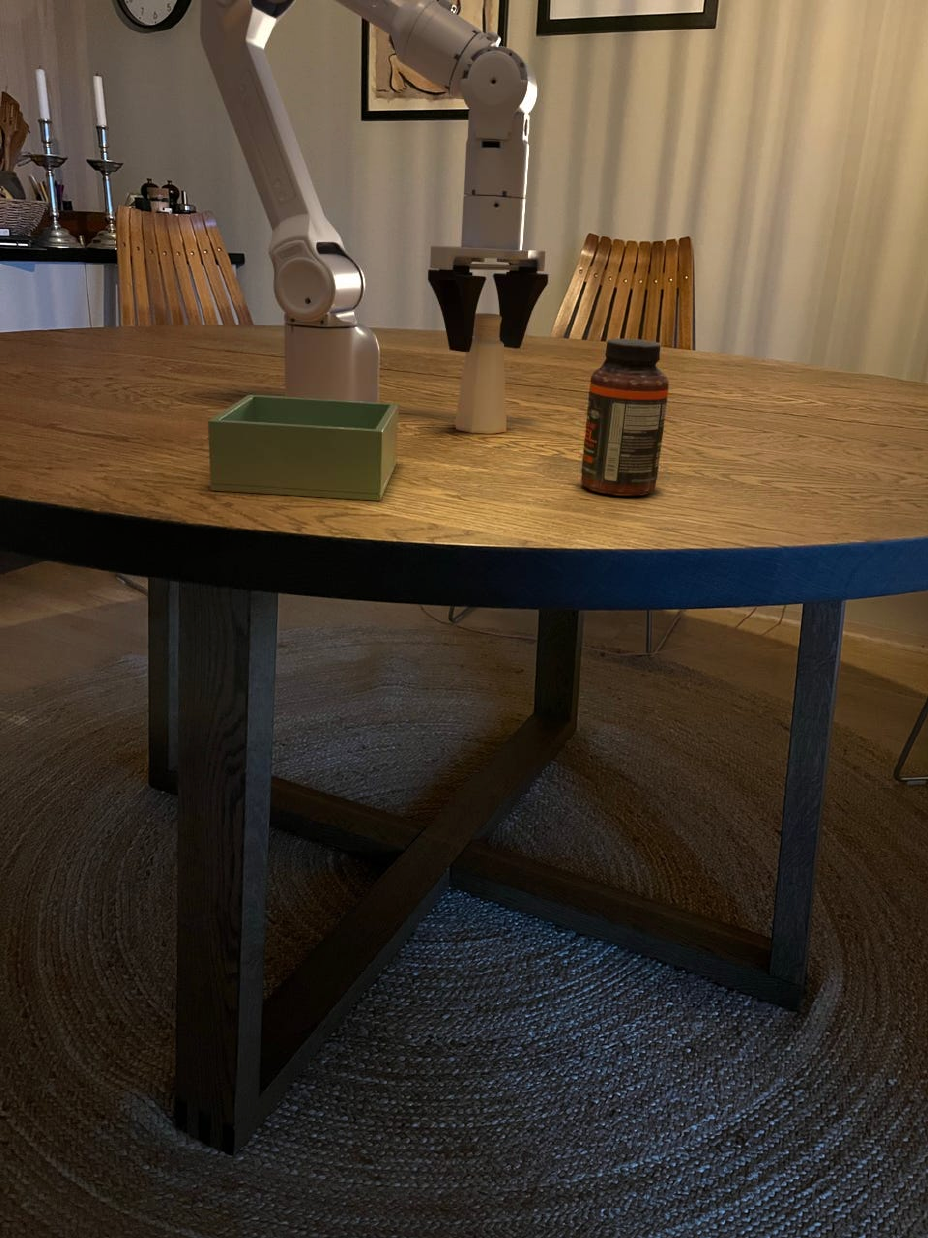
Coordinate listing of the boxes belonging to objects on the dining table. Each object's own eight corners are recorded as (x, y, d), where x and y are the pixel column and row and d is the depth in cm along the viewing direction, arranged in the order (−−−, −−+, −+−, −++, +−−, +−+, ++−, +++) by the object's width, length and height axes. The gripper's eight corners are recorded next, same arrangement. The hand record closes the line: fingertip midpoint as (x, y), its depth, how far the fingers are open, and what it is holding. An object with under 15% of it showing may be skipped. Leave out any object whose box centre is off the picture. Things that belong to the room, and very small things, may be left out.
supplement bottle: (573, 478, 81) (586, 334, 77) (644, 481, 82) (662, 338, 78) (587, 497, 76) (603, 343, 71) (664, 499, 76) (684, 347, 72)
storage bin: (249, 455, 83) (248, 394, 81) (396, 464, 82) (398, 403, 81) (210, 490, 71) (207, 420, 69) (380, 501, 71) (382, 430, 69)
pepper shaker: (513, 427, 101) (522, 314, 97) (498, 436, 96) (506, 317, 92) (463, 421, 103) (469, 310, 99) (445, 429, 98) (451, 313, 94)
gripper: (475, 193, 84) (466, 357, 89) (575, 203, 95) (563, 350, 100) (415, 191, 89) (410, 348, 94) (517, 201, 99) (508, 342, 104)
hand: (485, 349), depth 97 cm, fingers open, 7 cm apart
